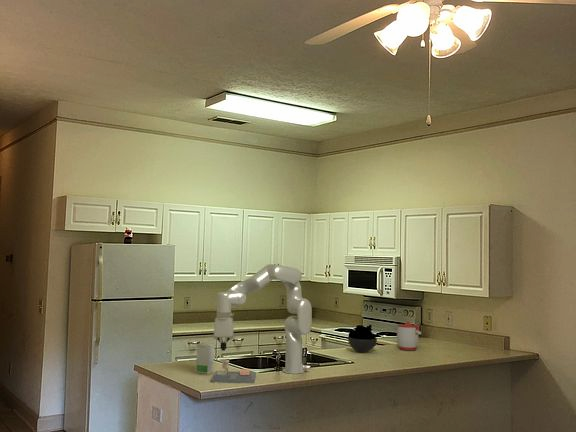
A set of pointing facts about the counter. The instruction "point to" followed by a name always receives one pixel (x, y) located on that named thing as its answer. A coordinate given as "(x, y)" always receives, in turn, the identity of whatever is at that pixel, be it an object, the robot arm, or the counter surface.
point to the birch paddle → (225, 365)
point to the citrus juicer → (407, 336)
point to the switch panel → (234, 377)
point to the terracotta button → (245, 372)
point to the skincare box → (205, 358)
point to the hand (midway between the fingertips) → (223, 350)
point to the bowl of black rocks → (362, 339)
